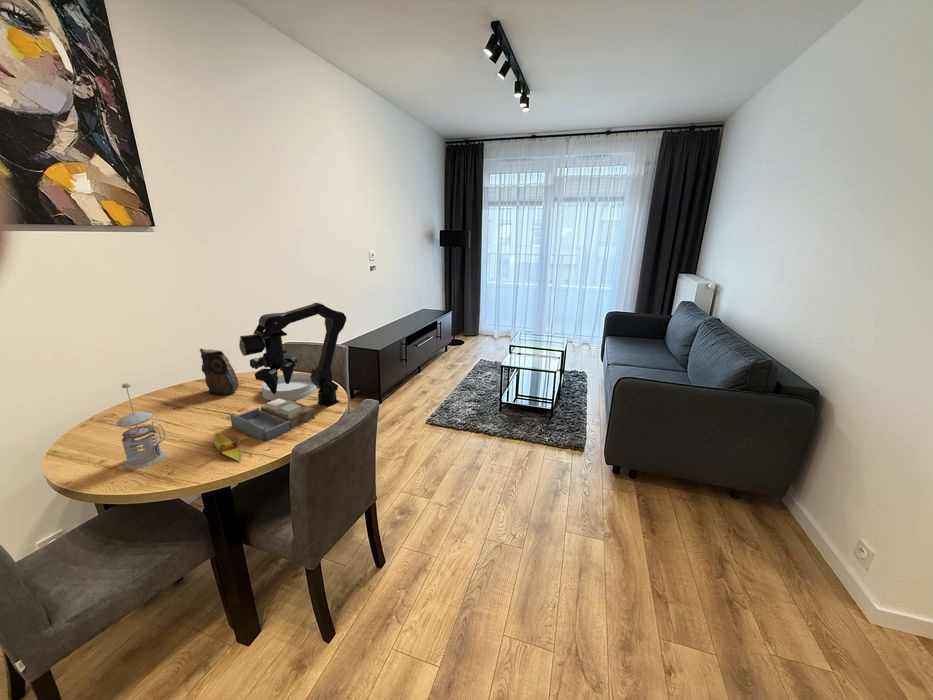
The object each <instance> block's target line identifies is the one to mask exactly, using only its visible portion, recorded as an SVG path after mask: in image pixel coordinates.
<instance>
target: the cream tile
mask: <svg viewBox="0 0 933 700" xmlns="http://www.w3.org/2000/svg"><path fill="white" fill-rule="evenodd" d="M266 405H267V406H268V408H270V409H272V410H275V411H277V410H279V409H280V408H281V407H284V406H286V405H288V403H287V401H285V400H282V399H280V398H279V399H276V400H274V401H269V402H267V403H266Z"/></svg>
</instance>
